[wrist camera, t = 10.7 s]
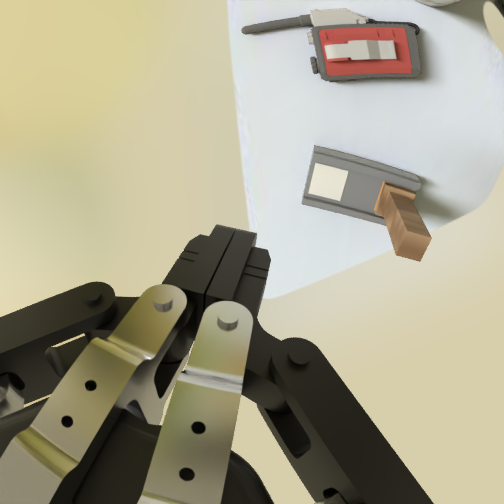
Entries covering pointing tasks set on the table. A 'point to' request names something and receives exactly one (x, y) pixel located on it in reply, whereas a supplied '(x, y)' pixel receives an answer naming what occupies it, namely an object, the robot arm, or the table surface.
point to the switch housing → (351, 183)
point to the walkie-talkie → (355, 45)
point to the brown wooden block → (403, 221)
